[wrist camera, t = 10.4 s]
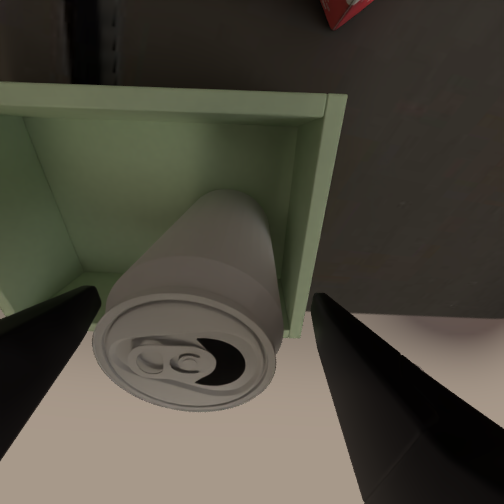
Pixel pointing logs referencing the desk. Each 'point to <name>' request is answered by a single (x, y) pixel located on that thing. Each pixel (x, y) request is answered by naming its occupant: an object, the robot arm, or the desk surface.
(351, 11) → the ink box
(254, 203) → the beverage can
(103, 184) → the bin
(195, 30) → the desk surface
